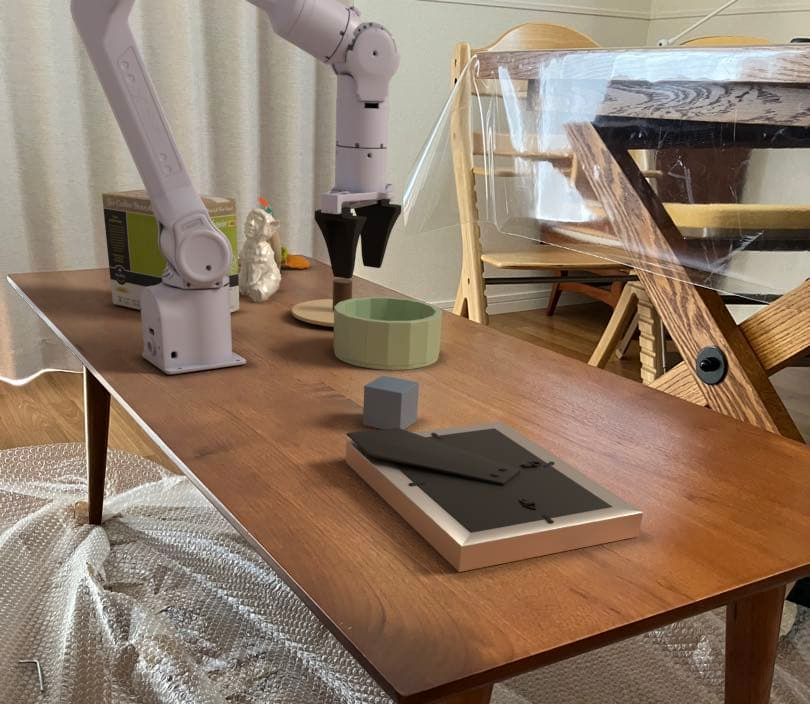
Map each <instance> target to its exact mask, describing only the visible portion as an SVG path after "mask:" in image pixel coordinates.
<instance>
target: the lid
mask: <svg viewBox="0 0 810 704" xmlns="http://www.w3.org/2000/svg"><path fill="white" fill-rule="evenodd" d="M352 298H353V280H352V279H346V278H334V279H333V280H332V298H326V299H325V298H322V299H314V300H308V301H304V302H299V303H297V304H295V305H294V306H292V308H291V315H292V316H293V317H294V318H295V319H297V320H299V321H302V322H305V323H309V324H312V325H316V326H317V325H319V326H322V327H328V328H329V327H330V328H334V307H335V306H336V305H337V304H338V303H339V302H341V301H345V300H348V299H352Z"/></svg>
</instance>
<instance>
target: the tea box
mask: <svg viewBox="0 0 810 704" xmlns="http://www.w3.org/2000/svg"><path fill="white" fill-rule="evenodd" d="M198 195H199V196H200V198H201V200H202V202H203V203H204V205H205V207H206V209H207V211H208V214H209V216H210V219H211V221H212V222H213V224H214V225H215V226H216V227H217V228H218V229H219V230H220V231H221V232H222V233H224V235H225V236H226V237H227V239H228V240H229V242H230V245H231V248H232V255H233V258H232V264H231V267H230V269H229V271H228V273H227V274H226V275H227V276H229V285H230V311H231V313H234V312H237V311H239V309H240V295H239V276H238V274H239V253H238V227H237V226H238V225H237V205H236V204H237V201H236V198H231V197H222V196H216V195H215V196H214V195H208V194H199V193H198ZM101 197H102V198H101V199H102V207H103V219H104V228H105V229H104V230H105V238H106V239H105V241H106V248H107V259H108V268H109V270H108V271H109V277H110V290H111V299H112V304H113V305H117V306H120V307H124V308H125V307H126V308H128V309H129V308H130V309H134V310H139V311H141V309H140V299H141V292H142V290H143V289H144V288H145V287H148V286H154V285H157V284H160V283H161V282H163V281H162V274H164V272H165V270H166V268H167V266H169V264H170V263H168V262H167V260H166V259H165V258H164V257H163V255H162V254H161V251H160V249H159V245H158V231H159V229H158V224H157V221H156V218H155V216H154V213H153V210H152V206H151V201H150V198H149V195H148V193H147V190H146V188H145V189H135V190H123V191H112V192H103V193H102V194H101Z"/></svg>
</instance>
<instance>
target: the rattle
mask: <svg viewBox="0 0 810 704" xmlns="http://www.w3.org/2000/svg"><path fill="white" fill-rule="evenodd" d="M258 201H259V203H260V204H261V205H262V206H264V207H265V208H264V211H265V212H267V213H269V214H271V215H272V217H273V219H274V220H275V221H276V219H275V217H274V210H273V208H272V207H271V205H269V203H268V202H267V200H266V199H265V198H264V197H263V196H259V197H258ZM266 242H267V243H269V245H270V246H271V248H272V250H273V251H274V260H275V262H276V263H277V268H278V269H279V271H281V266H285V267H289V268H290V269H297V270H305V269H309V267H310V263H309V261H308V260H306V258H305V257H303V256H301V255H293V254H291V253H289V251H288V248H287V247H286V246H282V244H281V237H280V234H279V232H278V229H277V230H276V232H274V233H273V236H271V238H270V239H268V240H267V241H266Z"/></svg>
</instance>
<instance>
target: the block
mask: <svg viewBox="0 0 810 704" xmlns="http://www.w3.org/2000/svg"><path fill="white" fill-rule="evenodd" d="M419 389H420V382H419V381H415V380H414V381H413V380H409V379H403V378H399V377H392V376H387V375H381V376H379V377H377V378H376V379H374V380H372V381H370V382H368V383H367V384H365V385H364V386H363V408H362V409H363V410H362V411H363V412H362V413H363V414H362V425H363V426H364V427H369V428H374V429H377V430H383V429H395V428H400V429H403V430H407V429H408V428H409V427H411V426H412V425H413V424H414V423H416V422H417V421H418V409H419V408H418V406H419V392H420V391H419Z"/></svg>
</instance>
